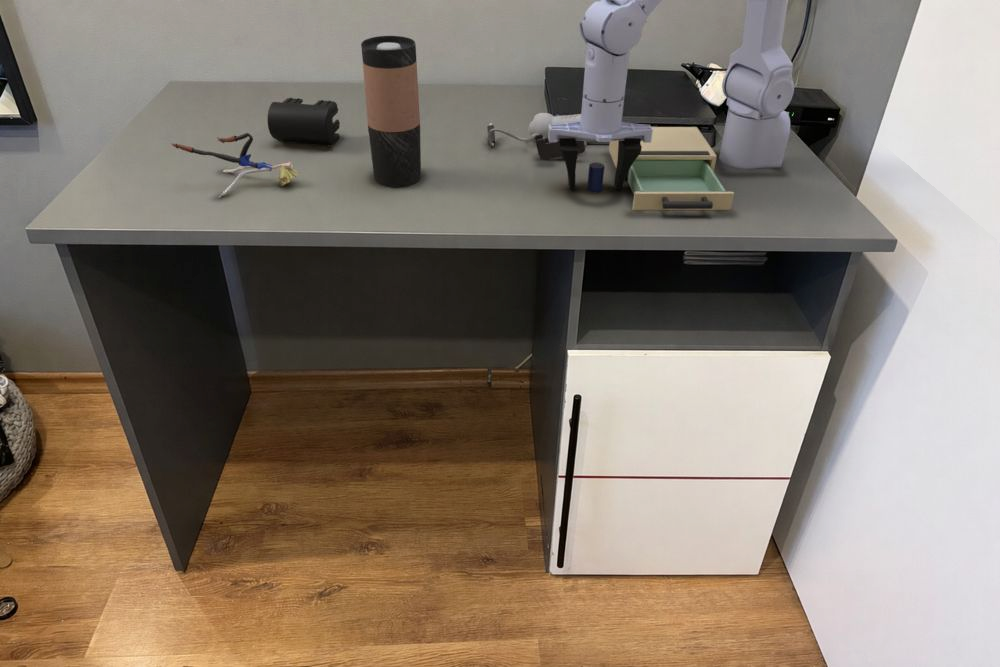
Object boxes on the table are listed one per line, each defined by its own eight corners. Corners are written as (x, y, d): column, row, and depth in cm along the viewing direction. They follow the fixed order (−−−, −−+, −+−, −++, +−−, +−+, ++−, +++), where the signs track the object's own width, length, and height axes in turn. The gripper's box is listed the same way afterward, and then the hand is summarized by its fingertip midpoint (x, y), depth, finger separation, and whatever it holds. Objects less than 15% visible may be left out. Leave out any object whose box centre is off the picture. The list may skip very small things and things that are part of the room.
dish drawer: (691, 154, 125) (697, 125, 122) (711, 185, 115) (717, 155, 112) (608, 154, 124) (611, 125, 121) (620, 185, 114) (624, 154, 112)
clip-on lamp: (479, 173, 124) (585, 163, 118) (469, 137, 121) (579, 126, 115) (497, 141, 133) (597, 130, 127) (489, 107, 129) (592, 94, 123)
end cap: (271, 148, 124) (264, 108, 120) (287, 132, 130) (281, 93, 126) (329, 153, 123) (324, 112, 119) (343, 137, 128) (339, 98, 124)
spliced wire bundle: (298, 236, 114) (162, 199, 110) (313, 195, 119) (183, 159, 115) (302, 190, 105) (155, 149, 102) (318, 148, 110) (178, 108, 107)
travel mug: (430, 171, 117) (425, 38, 106) (410, 191, 112) (401, 52, 100) (386, 164, 119) (376, 33, 108) (363, 183, 114) (350, 46, 102)
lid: (613, 184, 115) (616, 156, 112) (620, 204, 109) (624, 175, 107) (568, 184, 114) (570, 156, 112) (574, 204, 109) (576, 175, 106)
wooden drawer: (708, 178, 117) (711, 159, 115) (735, 221, 105) (739, 201, 103) (618, 178, 116) (620, 159, 114) (635, 221, 104) (638, 201, 102)
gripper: (553, 105, 100) (548, 199, 108) (662, 105, 100) (648, 199, 108) (548, 88, 105) (544, 178, 113) (651, 88, 106) (639, 178, 114)
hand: (594, 187), depth 111 cm, fingers open, 6 cm apart
